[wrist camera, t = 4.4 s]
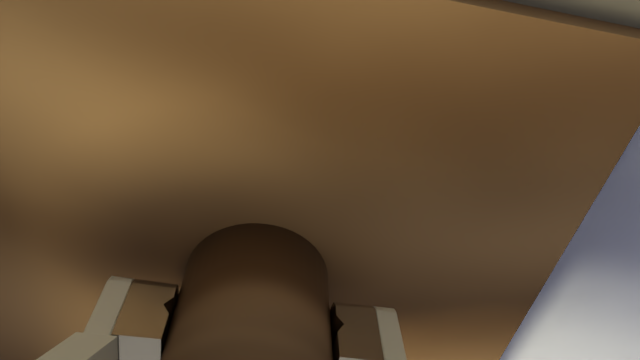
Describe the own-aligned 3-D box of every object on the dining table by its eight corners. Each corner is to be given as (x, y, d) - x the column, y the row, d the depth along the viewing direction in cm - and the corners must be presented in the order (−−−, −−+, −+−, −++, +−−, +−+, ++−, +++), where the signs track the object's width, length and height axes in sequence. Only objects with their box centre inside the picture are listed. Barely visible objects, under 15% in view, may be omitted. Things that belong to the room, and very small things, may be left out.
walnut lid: (-106, -125, 9) (-502, -110, 4) (649, 30, 11) (886, 147, 6) (9, 388, 17) (-94, 575, 12) (433, 424, 19) (474, 596, 14)
